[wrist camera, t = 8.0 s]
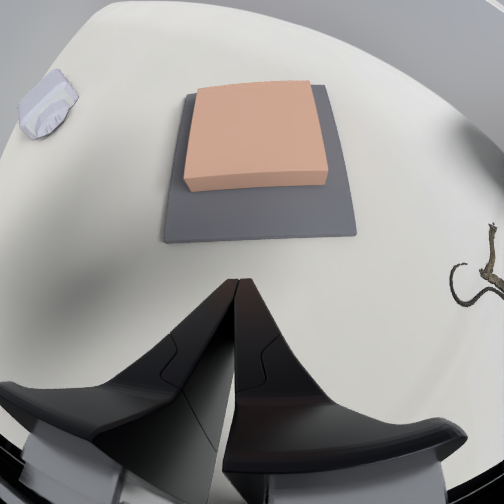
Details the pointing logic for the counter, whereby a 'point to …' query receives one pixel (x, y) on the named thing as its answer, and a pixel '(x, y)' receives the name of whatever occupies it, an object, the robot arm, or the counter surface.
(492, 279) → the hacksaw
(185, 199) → the mat
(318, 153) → the tile
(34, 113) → the charger
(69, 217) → the counter surface
